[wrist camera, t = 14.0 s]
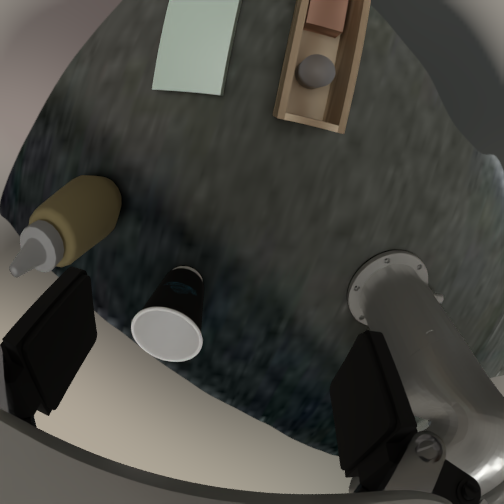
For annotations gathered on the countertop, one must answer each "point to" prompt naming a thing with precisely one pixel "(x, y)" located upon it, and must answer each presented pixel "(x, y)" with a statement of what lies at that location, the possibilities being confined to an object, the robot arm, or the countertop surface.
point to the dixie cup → (172, 317)
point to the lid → (196, 46)
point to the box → (322, 62)
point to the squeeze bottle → (68, 224)
